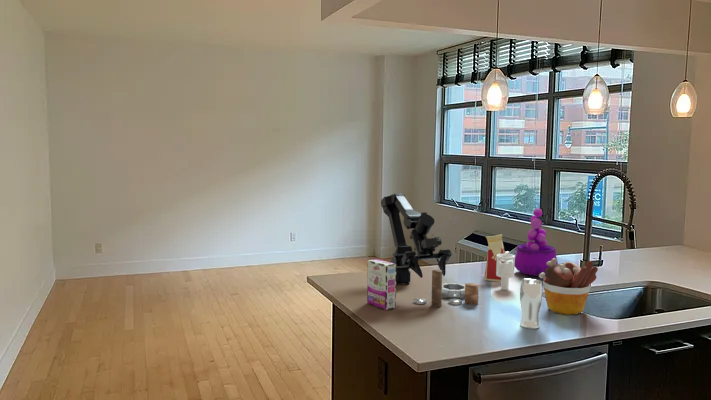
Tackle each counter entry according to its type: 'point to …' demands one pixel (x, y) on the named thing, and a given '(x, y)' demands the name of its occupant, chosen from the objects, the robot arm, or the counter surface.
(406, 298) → the counter surface
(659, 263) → the counter surface
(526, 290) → the beer glass
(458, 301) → the disc
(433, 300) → the walnut peg
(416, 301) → the disc
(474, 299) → the cherry stub
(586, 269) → the bucket of meat
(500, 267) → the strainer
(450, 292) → the octagonal socket plate
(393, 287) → the candy bar box
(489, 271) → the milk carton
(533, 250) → the decorative plant
